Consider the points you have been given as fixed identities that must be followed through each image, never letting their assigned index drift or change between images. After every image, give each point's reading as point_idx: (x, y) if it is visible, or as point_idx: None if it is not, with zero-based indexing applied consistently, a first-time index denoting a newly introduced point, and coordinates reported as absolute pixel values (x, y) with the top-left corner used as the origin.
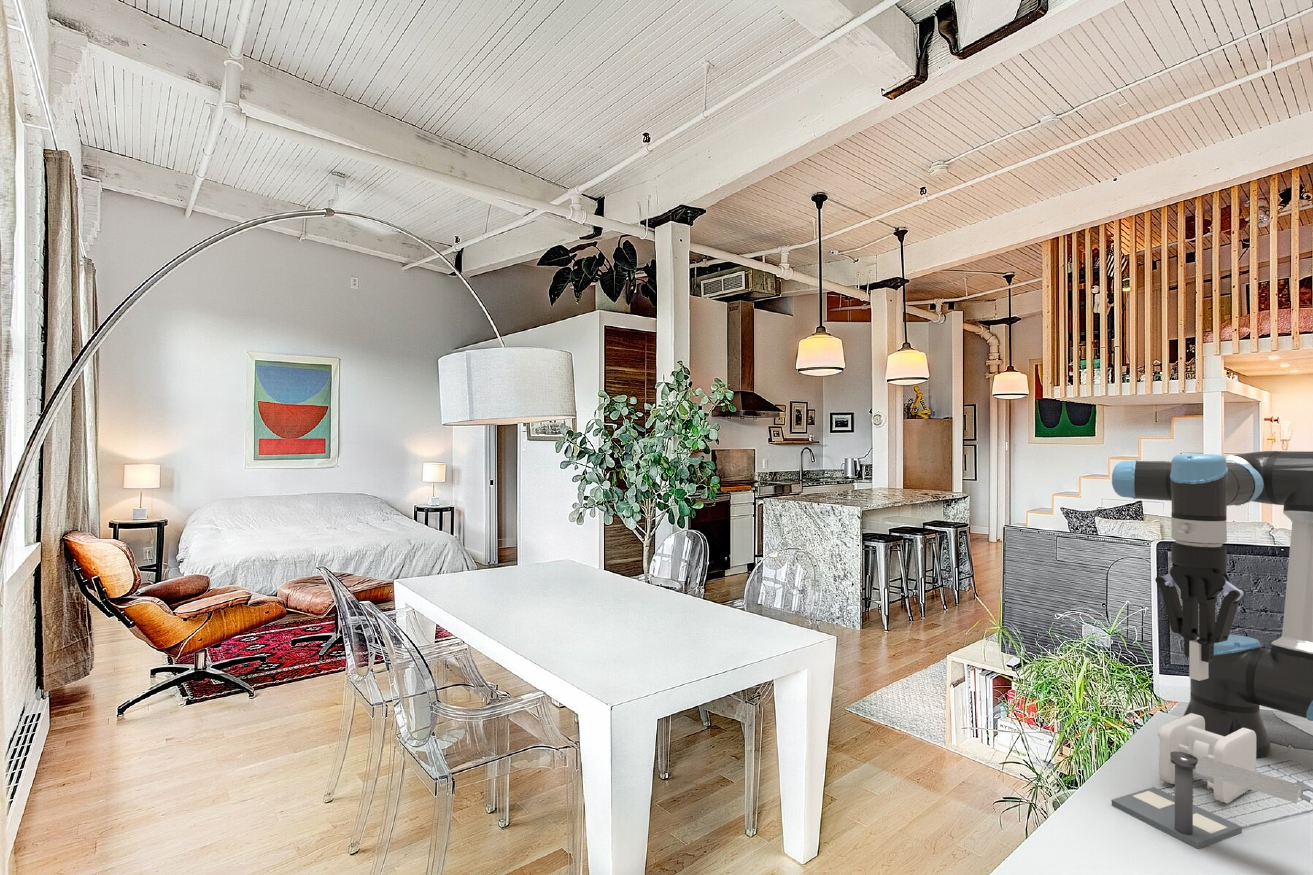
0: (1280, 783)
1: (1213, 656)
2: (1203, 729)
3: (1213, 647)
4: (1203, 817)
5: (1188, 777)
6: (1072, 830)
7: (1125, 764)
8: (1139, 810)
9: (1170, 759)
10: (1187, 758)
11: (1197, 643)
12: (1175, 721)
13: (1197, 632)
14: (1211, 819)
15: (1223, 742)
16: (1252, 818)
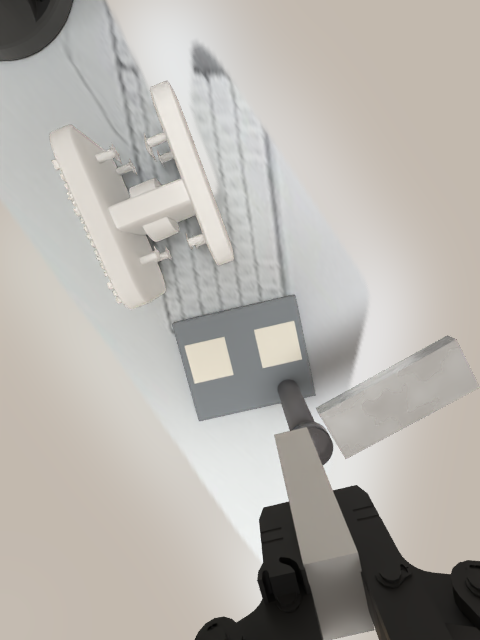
0: (441, 372)
1: (373, 506)
2: (88, 145)
3: (394, 544)
4: (265, 331)
5: None
6: (247, 511)
7: (81, 289)
8: (231, 405)
9: None
10: (319, 449)
11: (364, 627)
12: (102, 247)
13: (318, 622)
14: (270, 322)
15: (220, 243)
16: (265, 238)
